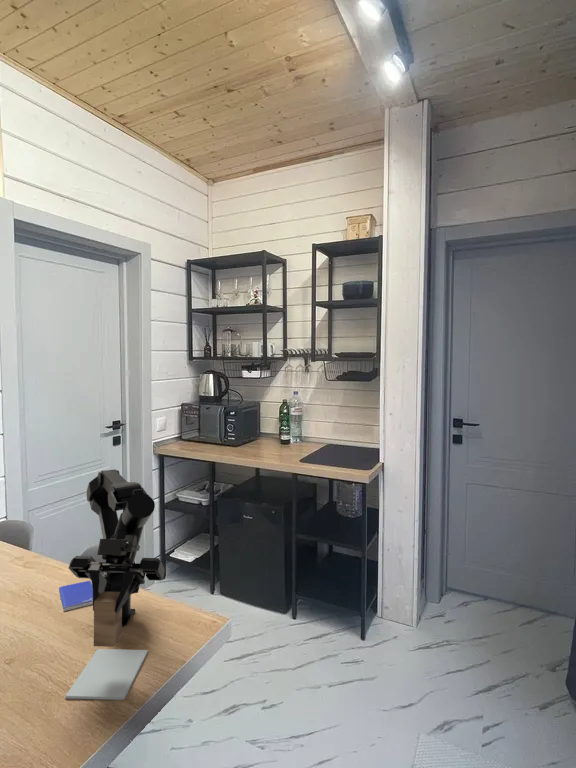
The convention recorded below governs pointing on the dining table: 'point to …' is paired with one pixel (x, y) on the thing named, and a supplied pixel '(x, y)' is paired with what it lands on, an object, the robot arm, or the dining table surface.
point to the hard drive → (76, 595)
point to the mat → (108, 675)
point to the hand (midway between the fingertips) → (105, 611)
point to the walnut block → (107, 620)
